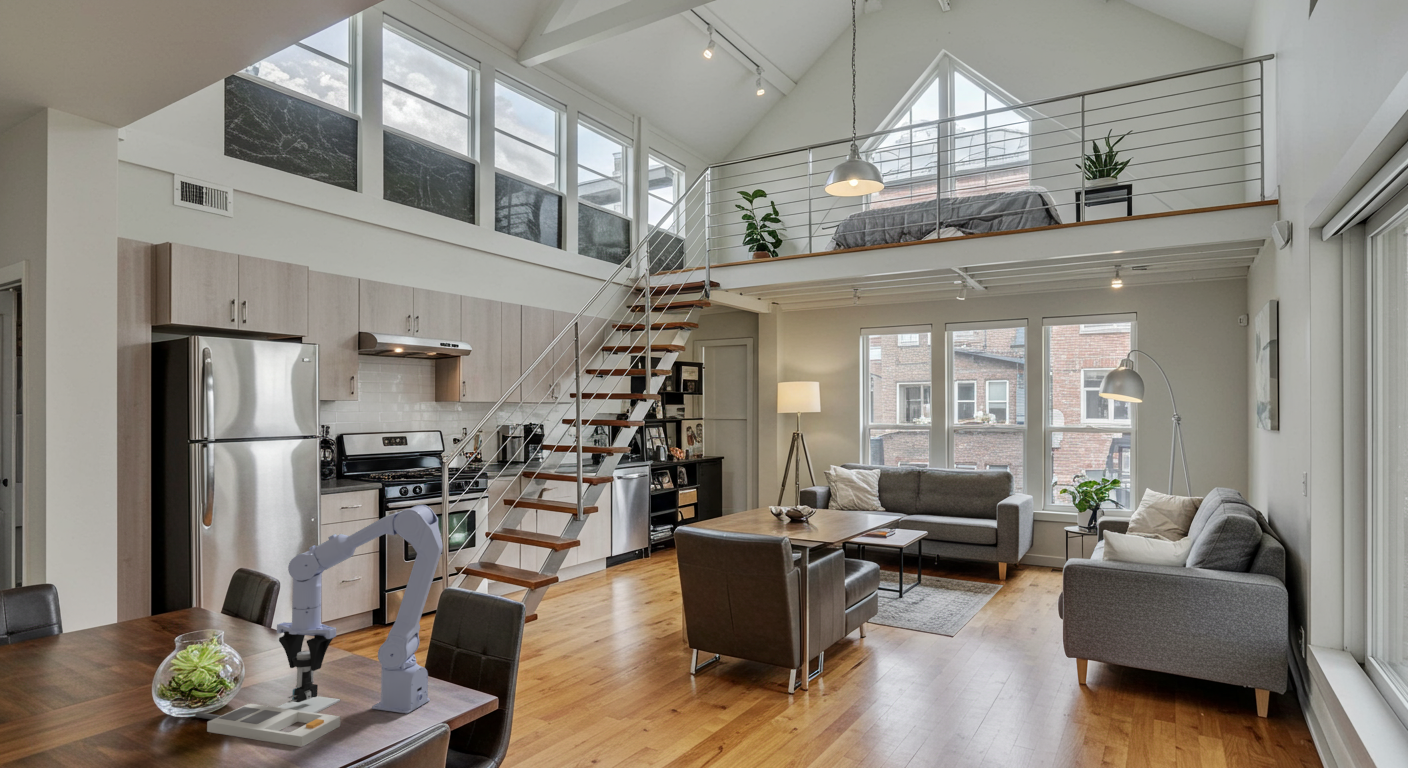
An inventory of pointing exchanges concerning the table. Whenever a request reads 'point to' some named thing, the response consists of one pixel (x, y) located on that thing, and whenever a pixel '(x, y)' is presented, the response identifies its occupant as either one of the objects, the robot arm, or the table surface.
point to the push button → (303, 678)
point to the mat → (311, 704)
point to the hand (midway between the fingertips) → (305, 668)
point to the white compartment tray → (271, 724)
